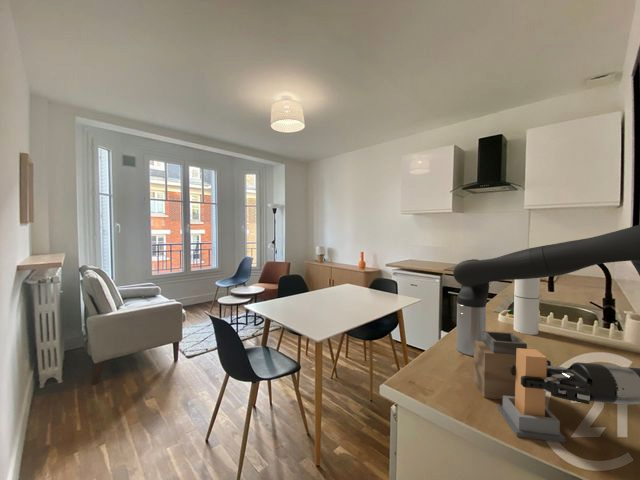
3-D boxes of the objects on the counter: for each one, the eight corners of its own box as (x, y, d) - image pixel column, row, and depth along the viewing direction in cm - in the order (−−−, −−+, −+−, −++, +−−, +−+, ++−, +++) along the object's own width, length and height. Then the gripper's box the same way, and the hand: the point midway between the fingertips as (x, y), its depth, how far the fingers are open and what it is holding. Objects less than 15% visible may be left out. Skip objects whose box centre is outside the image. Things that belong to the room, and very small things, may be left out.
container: (527, 327, 122) (529, 260, 121) (543, 334, 114) (545, 263, 113) (508, 327, 122) (510, 260, 121) (523, 335, 114) (525, 263, 112)
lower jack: (497, 409, 67) (498, 393, 67) (539, 413, 66) (539, 397, 65) (516, 436, 58) (517, 418, 58) (565, 442, 57) (565, 423, 57)
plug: (514, 410, 64) (516, 348, 64) (533, 412, 64) (535, 349, 63) (523, 422, 60) (526, 356, 60) (544, 424, 60) (546, 357, 59)
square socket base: (473, 380, 80) (474, 330, 79) (519, 385, 77) (520, 333, 77) (484, 397, 72) (485, 341, 71) (535, 402, 70) (537, 345, 69)
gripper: (580, 351, 66) (501, 346, 69) (636, 384, 52) (534, 376, 55) (579, 381, 66) (501, 375, 69) (635, 423, 52) (533, 412, 55)
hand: (516, 375), depth 62 cm, fingers open, 4 cm apart
